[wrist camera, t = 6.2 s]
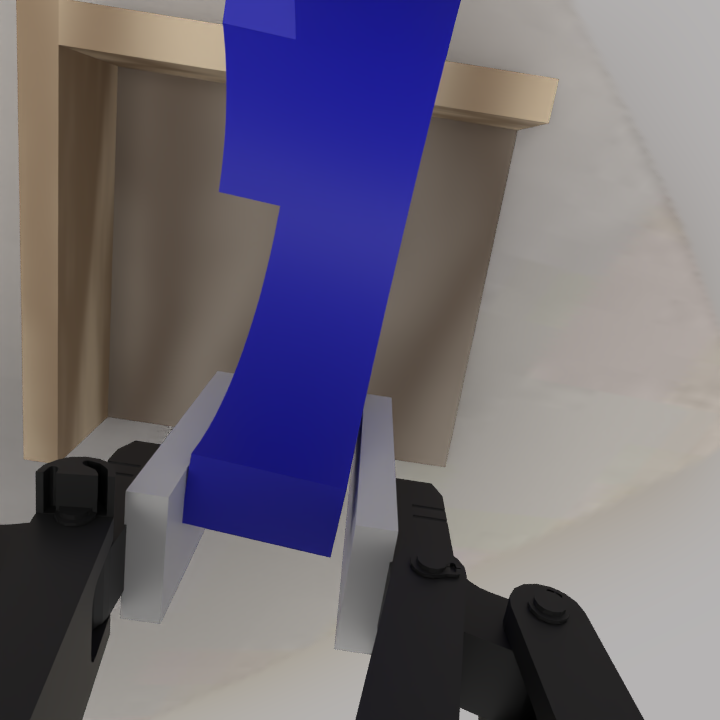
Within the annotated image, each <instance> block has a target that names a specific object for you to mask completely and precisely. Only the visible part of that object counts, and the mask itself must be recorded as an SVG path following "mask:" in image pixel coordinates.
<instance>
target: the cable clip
mask: <svg viewBox="0 0 720 720" xmlns="http://www.w3.org/2000/svg"><path fill="white" fill-rule="evenodd" d="M460 1H461V0H226V3H225V10H224V17H223V31H224V43H225V58H226V123H225V140H224V151H223V162H222V170H221V179H220V186H219V192H221V193H226V194H230V195H234V196H239V197H243V198H247V199H252V200H256V201H260V202H265V203H269V204H273V205H278V206H280V209H279V215H278V220H277V225H276V230H275V235H274V240H273V244H272V249H271V253H270V258H269V262H268V266H267V270H266V274H265V278H264V282H263V286H262V290H261V294H260V297H259V301H258V304H257V308H256V311H255V315H254V318H253V321H252V324H251V327H250V331H249V334H248V337H247V340H246V343H245V346H244V349H243V351H242V354H241V357H240V360H239V362H238V365H237V368H236V370H235V373H234V375H233V378H232V380H231V383H230V385H229V387H228V389H227V392H226V394H225V396H224V399H223V401H222V403H221V405H220V407H219V409H218V411H217V413H216V415H215V417H214V419H213V420H212V422H211V424H210V426H209V428H208V429H207V431H206V433H205V434H204V436H203V437H202V439H201V441H200V442H199V444H198V445H197V446H196V448H195V449H194V450H193V452H192V453H191V458H190V464H189V471H188V477H187V483H186V490H185V496H184V507H183V519H182V523H185V524H189V525H193V526H198V527H202V528H206V529H210V530H215V531H219V532H223V533H228V534H232V535H236V536H240V537H245V538H249V539H253V540H257V541H262V542H266V543H270V544H275V545H279V546H283V547H287V548H292V549H296V550H300V551H305V552H309V553H313V554H317V555H322V556H326V557H331V553H332V548H333V544H334V540H335V536H336V532H337V527H338V523H339V519H340V515H341V511H342V506H343V502H344V498H345V494H346V489H347V484H348V479H349V474H350V469H351V464H352V460H353V455H354V450H355V445H356V441H357V436H358V431H359V427H360V422H361V417H362V413H363V408H364V404H365V399H366V395H367V390H368V385H369V381H370V376H371V372H372V368H373V363H374V359H375V354H376V350H377V345H378V341H379V336H380V332H381V328H382V323H383V319H384V315H385V310H386V306H387V301H388V297H389V293H390V288H391V284H392V280H393V276H394V271H395V267H396V263H397V258H398V254H399V250H400V246H401V241H402V237H403V233H404V229H405V224H406V220H407V216H408V212H409V207H410V203H411V199H412V195H413V191H414V186H415V182H416V178H417V174H418V170H419V166H420V161H421V157H422V153H423V149H424V145H425V141H426V137H427V133H428V128H429V124H430V120H431V116H432V112H433V108H434V104H435V100H436V96H437V92H438V88H439V84H440V80H441V76H442V72H443V68H444V64H445V60H446V56H447V52H448V48H449V44H450V40H451V36H452V32H453V28H454V24H455V21H456V17H457V13H458V9H459V5H460Z"/></svg>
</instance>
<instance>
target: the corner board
mask: <svg viewBox="0 0 720 720" xmlns="http://www.w3.org/2000/svg"><path fill="white" fill-rule="evenodd" d="M16 10H17V72H18V134H19V196H20V259H21V321H22V383H23V446H24V459H25V460H32V461H39V462H45V463H50V462H52V461H55V460H58V459H64V458H65V457H66V456H67V455H68V454H69V453H70V452H71V451H72V450H73V449H74V448H75V447H76V446H77V445H78V444H80V443H81V442H82V441H83V440H84V439H85V438H86V437H87V436H88V435H89V434H90V433H91V432H92V431H93V430H94V429H95V428H96V427H97V426H99V425H100V424H101V423H102V422H103V421H104V420H105V419H106V418H107V417H112V418H119V419H126V420H132V421H139V422H146V423H152V424H159V425H166V426H173V427H175V426H176V425H177V423H178V422H179V421H180V419H181V418H182V417H183V415H184V414H185V413H186V412H187V410H188V409H189V408H190V406H191V405H192V404H193V402H194V401H195V400H196V399H197V397H198V396H199V395H200V393H201V392H202V391H203V389H204V388H205V387H206V385H207V384H208V383H209V382H210V380H211V379H212V378H213V376H214V375H215V374H216V372H217V371H220V372H227V373H235V370H236V368H237V365H238V362H239V360H240V357H241V354H242V351H243V349H244V346H245V343H246V340H247V337H248V334H249V331H250V327H251V324H252V321H253V318H254V315H255V311H256V308H257V304H258V301H259V297H260V294H261V290H262V286H263V282H264V278H265V274H266V270H267V266H268V262H269V258H270V253H271V249H272V244H273V240H274V235H275V230H276V225H277V220H278V215H279V209H280V206H278V205H273V204H269V203H265V202H260V201H256V200H252V199H247V198H243V197H239V196H234V195H230V194H226V193H221V192H219V186H220V179H221V170H222V162H223V151H224V140H225V123H226V58H225V43H224V31H223V25H221V24H215V23H209V22H203V21H197V20H191V19H184V18H178V17H172V16H166V15H160V14H154V13H147V12H141V11H135V10H129V9H123V8H116V7H110V6H104V5H98V4H92V3H86V2H79V1H73V0H16ZM558 81H559V79H555V78H549V77H543V76H536V75H530V74H524V73H518V72H512V71H506V70H499V69H493V68H487V67H481V66H475V65H469V64H462V63H456V62H450V61H445V64H444V68H443V72H442V76H441V80H440V84H439V88H438V92H437V96H436V100H435V104H434V108H433V112H432V116H431V120H430V124H429V128H428V133H427V137H426V141H425V145H424V149H423V153H422V157H421V161H420V166H419V170H418V174H417V178H416V182H415V186H414V191H413V195H412V199H411V203H410V207H409V212H408V216H407V220H406V224H405V229H404V233H403V237H402V241H401V246H400V250H399V254H398V258H397V263H396V267H395V271H394V276H393V280H392V284H391V288H390V293H389V297H388V301H387V306H386V310H385V315H384V319H383V323H382V328H381V332H380V336H379V341H378V345H377V350H376V354H375V359H374V363H373V368H372V372H371V376H370V381H369V385H368V390H367V394H371V395H377V396H384V397H390V398H392V417H393V437H394V457H395V460H401V461H407V462H414V463H421V464H428V465H434V466H441V467H445V466H446V461H447V457H448V452H449V447H450V443H451V438H452V433H453V429H454V424H455V419H456V415H457V410H458V405H459V401H460V396H461V391H462V387H463V382H464V377H465V373H466V368H467V363H468V359H469V354H470V349H471V345H472V340H473V335H474V331H475V326H476V321H477V317H478V312H479V307H480V303H481V298H482V293H483V289H484V284H485V279H486V275H487V270H488V265H489V261H490V256H491V251H492V247H493V242H494V237H495V233H496V228H497V223H498V219H499V214H500V209H501V205H502V200H503V195H504V191H505V186H506V181H507V177H508V172H509V167H510V163H511V158H512V153H513V149H514V144H515V139H516V135H517V130H521V129H525V128H530V127H534V126H539V125H543V124H548V123H549V120H550V116H551V112H552V107H553V103H554V98H555V94H556V90H557V85H558ZM355 447H356V445H355ZM354 454H355V450H354Z"/></svg>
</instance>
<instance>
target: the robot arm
mask: <svg viewBox="0 0 720 720" xmlns="http://www.w3.org/2000/svg"><path fill="white" fill-rule="evenodd" d="M233 375H234V373H227V372H220V371H217V372H216V374H215V375H214V376H213V378H212V379H211V380H210V382H209V383H208V384H207V385H206V387H205V388H204V389H203V391H202V392H201V393H200V395H199V396H198V397H197V399H196V400H195V401H194V402H193V404H192V405H191V406H190V408H189V409H188V410H187V412H186V413H185V414H184V415H183V417H182V418H181V419H180V421H179V422H178V423H177V425H176V426H175V427H174V429H173V430H172V431H171V432H170V434H169V435H168V436H167V438H166V439H165V440H164V442H163V443H162V444H154V443H147V442H141V441H134V442H132V443H130V444H128V445H126V446H124V447H122V448H119V449H118V450H117V451H116V452H115V453H114V454H113V455H112V456H111V457H110V459H109V460H108V462H106V461H103V460H101V459H97V458H91V457H69V458H64V459H58V460H55V461H52V462H50V463H47V464H45V465H43V466H42V467H41V468H40V469H38V470H37V471H36V514H35V515H34V517H33V519H32V520H31V522H30V523H22V524H10V525H0V720H82V719H83V715H84V712H85V709H86V706H87V703H88V700H89V697H90V694H91V691H92V688H93V684H94V681H95V678H96V675H97V672H98V669H99V666H100V663H101V660H102V657H103V654H104V650H105V647H106V644H107V641H108V638H109V635H110V613H111V611H112V609H113V608H114V606H115V604H116V603H117V601H118V599H119V598H120V596H121V611H120V618H122V619H129V620H136V621H143V622H150V623H157V624H161V621H162V619H163V617H164V615H165V613H166V611H167V609H168V607H169V604H170V602H171V600H172V598H173V596H174V594H175V592H176V590H177V587H178V585H179V583H180V581H181V579H182V577H183V575H184V573H185V570H186V568H187V566H188V564H189V562H190V560H191V558H192V556H193V554H194V551H195V549H196V547H197V545H198V543H199V541H200V539H201V537H202V534H203V532H204V530H205V528H202V527H198V526H193V525H189V524H185V523H182V519H183V507H184V496H185V490H186V483H187V477H188V471H189V464H190V458H191V453H192V452H193V450H194V449H195V448H196V446H197V445H198V444H199V442H200V441H201V439H202V437H203V436H204V434H205V433H206V431H207V429H208V428H209V426H210V424H211V422H212V420H213V419H214V417H215V415H216V413H217V411H218V409H219V407H220V405H221V403H222V401H223V399H224V396H225V394H226V392H227V389H228V387H229V385H230V383H231V380H232V378H233ZM334 649H337V650H343V651H350V652H357V653H364V654H371V659H370V663H369V667H368V671H367V675H366V679H365V683H364V687H363V691H362V696H361V700H360V704H359V708H358V712H357V716H356V720H459V712H460V708H462V709H464V710H467V711H469V712H471V713H474V714H476V715H478V717H479V718H478V719H479V720H644V719H643V717H642V715H641V713H640V712H639V710H638V708H637V706H636V704H635V702H634V701H633V699H632V697H631V695H630V693H629V691H628V690H627V688H626V686H625V684H624V682H623V681H622V679H621V677H620V675H619V673H618V672H617V670H616V668H615V666H614V664H613V663H612V661H611V659H610V657H609V655H608V653H607V652H606V650H605V648H604V646H603V645H602V643H601V641H600V639H599V638H598V635H597V633H596V632H595V630H594V628H593V626H592V624H591V623H590V621H589V619H588V617H587V615H586V614H585V612H584V611H583V610H582V608H581V607H580V606H579V605H578V603H577V602H575V601H574V600H573V599H571V598H570V597H568V596H567V595H566V594H565V593H562V592H560V591H559V590H556V589H554V588H551V587H548V586H543V585H539V584H523V585H521V586H519V587H516V588H514V590H513V592H512V593H511V595H510V597H509V599H507V598H504V597H501V596H498V595H495V594H493V593H490V592H488V591H486V590H484V589H481V588H479V587H478V586H476V585H474V584H473V583H471V582H470V581H469V580H467V575H466V572H465V568H464V566H463V565H462V564H461V563H460V561H459V560H458V559H457V558H455V557H454V556H453V550H452V545H451V540H450V534H449V529H448V524H447V518H446V513H445V508H444V502H443V497H442V495H441V494H440V493H439V492H438V491H437V489H436V488H435V487H434V486H433V485H432V484H431V483H424V482H417V481H411V480H404V479H398V478H396V476H395V457H394V437H393V417H392V398H390V397H384V396H377V395H371V394H367V395H366V399H365V404H364V408H363V413H362V417H361V422H360V427H359V431H358V436H357V441H356V447H355V454H354V460H353V466H352V472H351V478H350V486H349V497H348V508H347V519H346V529H345V540H344V551H343V562H342V573H341V583H340V594H339V605H338V616H337V627H336V637H335V648H334Z"/></svg>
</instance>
